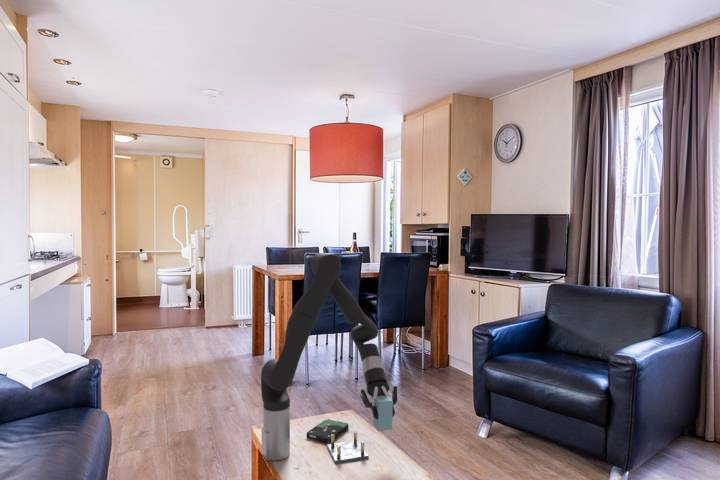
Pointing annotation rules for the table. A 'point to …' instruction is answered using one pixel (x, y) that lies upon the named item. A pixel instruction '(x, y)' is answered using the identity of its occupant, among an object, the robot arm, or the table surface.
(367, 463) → the table surface
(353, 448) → the chassis plate
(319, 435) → the disk drive
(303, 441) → the table surface
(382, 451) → the table surface
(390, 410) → the teal block
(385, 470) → the table surface
